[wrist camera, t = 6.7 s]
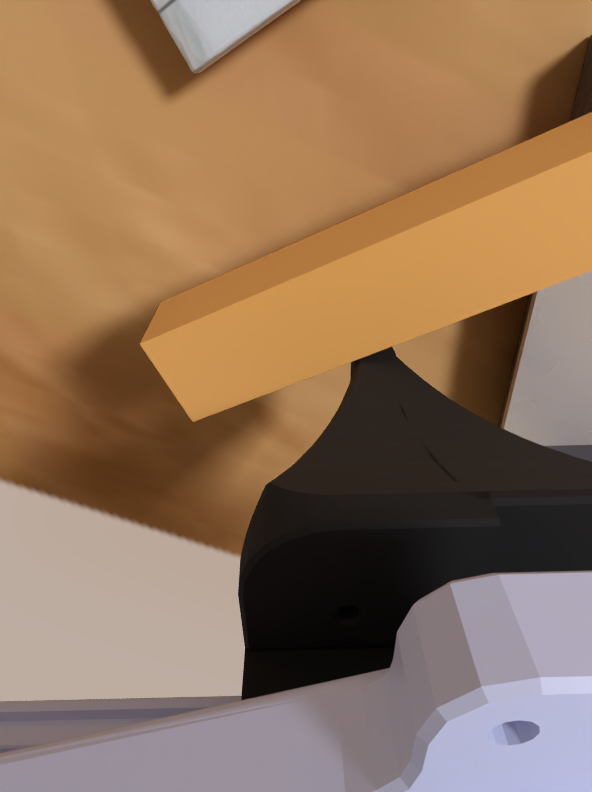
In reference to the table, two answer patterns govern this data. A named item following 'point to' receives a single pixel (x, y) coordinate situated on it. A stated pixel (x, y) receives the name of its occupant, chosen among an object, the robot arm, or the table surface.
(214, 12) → the hard drive
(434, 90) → the table surface
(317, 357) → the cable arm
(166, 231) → the table surface
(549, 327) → the psu panel
